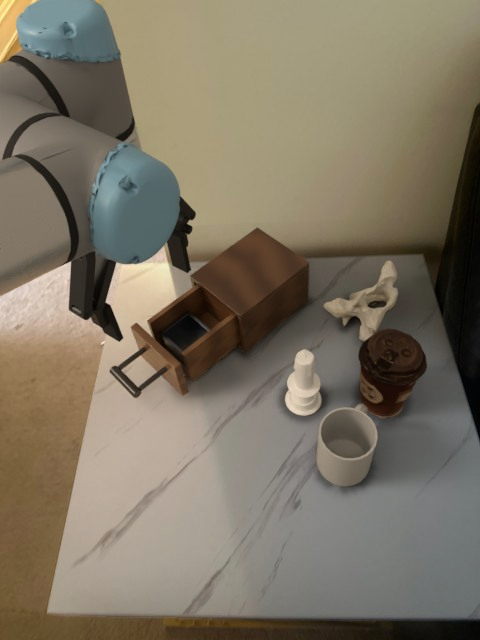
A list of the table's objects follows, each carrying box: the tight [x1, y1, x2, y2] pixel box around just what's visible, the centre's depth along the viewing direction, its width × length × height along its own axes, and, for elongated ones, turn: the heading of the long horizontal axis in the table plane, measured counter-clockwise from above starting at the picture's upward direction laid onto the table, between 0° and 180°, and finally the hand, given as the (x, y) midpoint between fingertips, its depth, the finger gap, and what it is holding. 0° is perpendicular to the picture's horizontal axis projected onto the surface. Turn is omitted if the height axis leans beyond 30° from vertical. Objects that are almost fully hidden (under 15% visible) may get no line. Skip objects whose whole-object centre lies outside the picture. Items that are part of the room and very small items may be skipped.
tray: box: [159, 311, 211, 367], centre depth 87 cm, size 6×7×4 cm
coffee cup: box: [357, 328, 428, 419], centre depth 77 cm, size 9×8×13 cm
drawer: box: [109, 284, 241, 399], centre depth 85 cm, size 20×10×8 cm, turn 133°
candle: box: [284, 348, 323, 417], centre depth 78 cm, size 5×5×12 cm
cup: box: [316, 403, 379, 487], centre depth 74 cm, size 7×10×9 cm
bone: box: [323, 260, 399, 343], centre depth 90 cm, size 9×14×8 cm, turn 142°
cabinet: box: [189, 226, 310, 354], centre depth 91 cm, size 15×12×10 cm
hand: (149, 300), depth 74 cm, fingers open, 13 cm apart
